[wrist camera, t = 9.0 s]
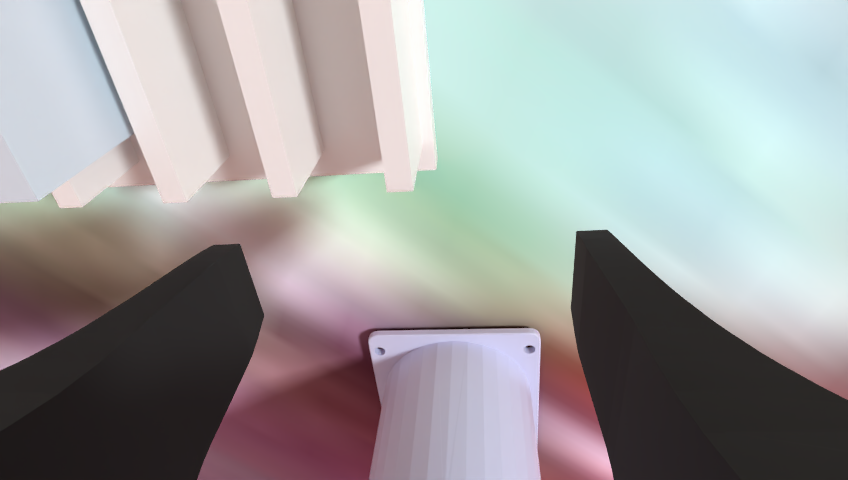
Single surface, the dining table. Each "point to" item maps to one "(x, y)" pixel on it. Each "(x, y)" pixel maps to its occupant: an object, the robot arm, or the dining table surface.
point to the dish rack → (262, 94)
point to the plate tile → (52, 98)
